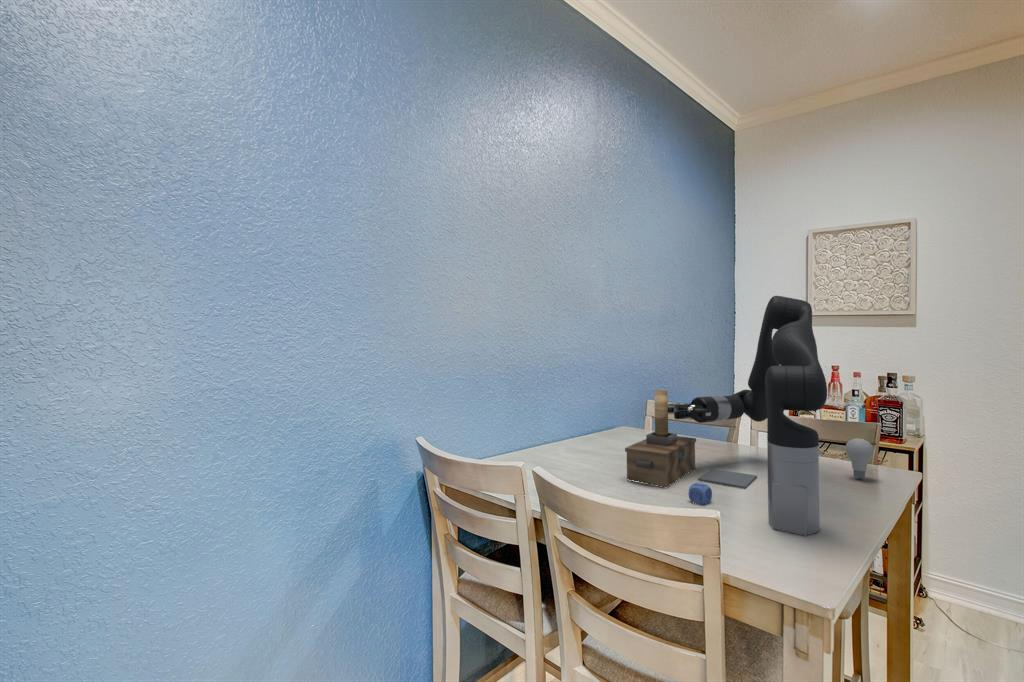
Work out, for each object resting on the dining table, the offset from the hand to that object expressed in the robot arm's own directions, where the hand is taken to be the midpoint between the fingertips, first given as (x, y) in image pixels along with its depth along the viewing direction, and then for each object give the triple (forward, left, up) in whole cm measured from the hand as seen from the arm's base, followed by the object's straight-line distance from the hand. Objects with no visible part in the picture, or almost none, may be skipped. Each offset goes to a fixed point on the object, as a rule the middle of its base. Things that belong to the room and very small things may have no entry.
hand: (665, 413), depth 138 cm
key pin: (-1, +1, -9) cm, 9 cm away
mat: (+5, -15, -18) cm, 24 cm away
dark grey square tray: (-1, +1, -9) cm, 9 cm away
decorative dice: (-17, -15, -18) cm, 29 cm away
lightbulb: (+25, -43, -18) cm, 53 cm away
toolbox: (-1, +1, -18) cm, 18 cm away
